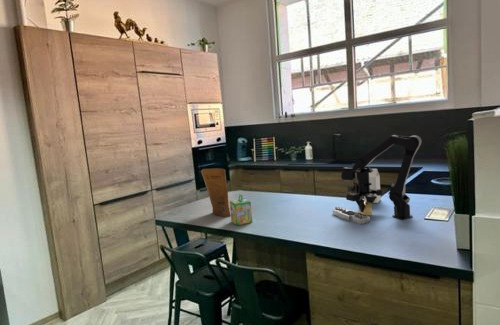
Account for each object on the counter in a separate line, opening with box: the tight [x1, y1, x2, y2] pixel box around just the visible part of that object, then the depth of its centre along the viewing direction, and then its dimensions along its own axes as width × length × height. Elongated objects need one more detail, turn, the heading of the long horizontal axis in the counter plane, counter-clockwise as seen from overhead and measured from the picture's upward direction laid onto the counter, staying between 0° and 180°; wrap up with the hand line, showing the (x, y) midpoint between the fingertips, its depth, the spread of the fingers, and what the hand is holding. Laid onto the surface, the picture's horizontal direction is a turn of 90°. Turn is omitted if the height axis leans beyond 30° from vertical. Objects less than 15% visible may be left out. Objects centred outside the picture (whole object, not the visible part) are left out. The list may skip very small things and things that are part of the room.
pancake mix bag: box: [200, 167, 231, 218], centre depth 195 cm, size 7×19×28 cm, turn 45°
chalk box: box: [229, 193, 253, 226], centre depth 178 cm, size 9×9×15 cm
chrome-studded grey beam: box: [332, 206, 371, 225], centre depth 167 cm, size 22×8×3 cm, turn 23°
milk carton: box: [363, 168, 382, 204], centre depth 191 cm, size 7×7×19 cm
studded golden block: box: [357, 201, 373, 216], centre depth 170 cm, size 5×4×7 cm
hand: (365, 211), depth 171 cm, fingers closed on studded golden block, 4 cm apart
